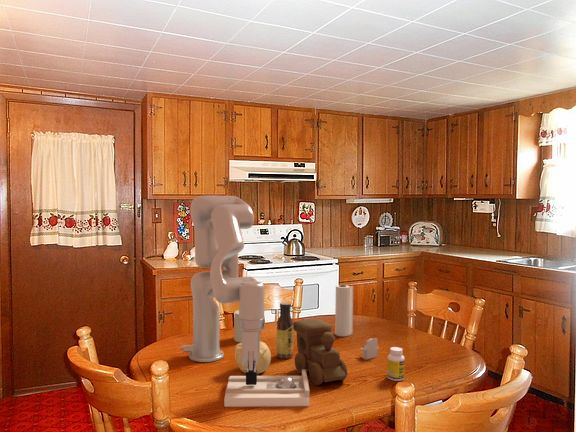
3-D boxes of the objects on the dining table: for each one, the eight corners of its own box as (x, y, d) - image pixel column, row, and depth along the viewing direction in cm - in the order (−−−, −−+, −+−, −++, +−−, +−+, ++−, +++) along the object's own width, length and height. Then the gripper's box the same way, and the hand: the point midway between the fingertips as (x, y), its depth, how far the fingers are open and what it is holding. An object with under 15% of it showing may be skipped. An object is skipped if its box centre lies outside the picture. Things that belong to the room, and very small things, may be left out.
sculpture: (230, 374, 153) (230, 342, 153) (246, 362, 164) (246, 332, 164) (261, 379, 149) (261, 346, 149) (275, 367, 160) (275, 336, 160)
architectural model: (359, 358, 171) (359, 338, 171) (373, 354, 175) (373, 335, 175) (366, 360, 168) (366, 340, 168) (379, 357, 172) (380, 337, 172)
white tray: (224, 406, 129) (224, 390, 129) (229, 383, 145) (229, 369, 145) (309, 406, 130) (309, 390, 130) (305, 383, 146) (305, 369, 146)
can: (260, 338, 193) (260, 310, 192) (247, 344, 185) (247, 314, 185) (243, 334, 198) (243, 307, 197) (229, 340, 190) (229, 311, 190)
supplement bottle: (401, 382, 147) (401, 352, 147) (384, 379, 150) (385, 349, 150) (406, 377, 152) (406, 348, 152) (390, 373, 155) (391, 345, 154)
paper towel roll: (333, 336, 197) (334, 286, 196) (336, 332, 203) (337, 284, 202) (350, 337, 195) (351, 287, 194) (352, 333, 201) (353, 285, 200)
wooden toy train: (290, 368, 159) (290, 321, 158) (318, 363, 164) (319, 317, 163) (319, 390, 141) (320, 337, 140) (350, 384, 146) (351, 332, 145)
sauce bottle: (291, 360, 167) (291, 306, 166) (274, 358, 168) (275, 305, 168) (294, 354, 174) (295, 302, 173) (278, 353, 175) (278, 301, 174)
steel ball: (295, 389, 135) (279, 382, 135) (288, 400, 138) (273, 392, 138) (298, 377, 140) (283, 370, 140) (292, 387, 142) (278, 380, 142)
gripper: (240, 316, 144) (240, 374, 145) (237, 330, 129) (237, 394, 130) (264, 316, 145) (263, 374, 145) (264, 330, 130) (263, 394, 130)
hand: (251, 383), depth 138 cm, fingers closed
